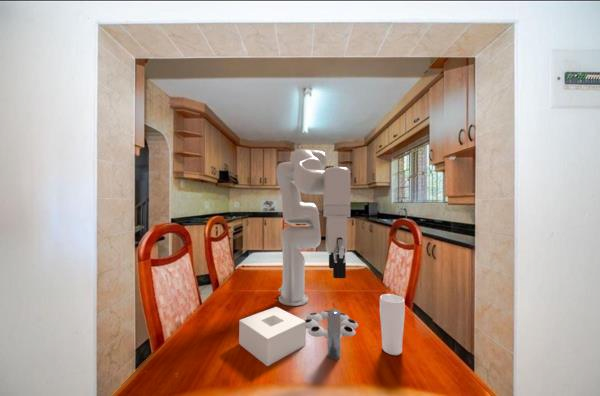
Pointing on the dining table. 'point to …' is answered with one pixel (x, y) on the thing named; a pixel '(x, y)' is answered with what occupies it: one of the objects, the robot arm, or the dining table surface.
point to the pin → (334, 334)
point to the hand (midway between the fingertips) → (336, 272)
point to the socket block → (272, 334)
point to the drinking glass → (392, 322)
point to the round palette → (324, 314)
